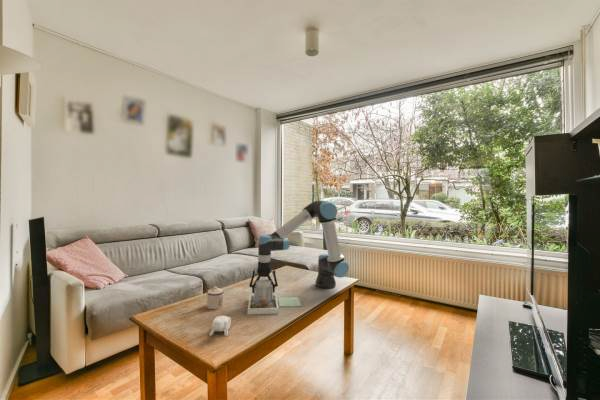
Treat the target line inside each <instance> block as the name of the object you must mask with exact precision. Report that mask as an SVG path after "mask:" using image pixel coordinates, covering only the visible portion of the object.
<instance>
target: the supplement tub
mask: <svg viewBox="0 0 600 400" xmlns="http://www.w3.org/2000/svg"><path fill="white" fill-rule="evenodd" d="M255 287H256V294H255V300H254V301H255V302H254V303H255V305H256V306H257V307H258V301H264V300H267V301H268V303H269V306H270V305H271V304H272V300H271V288H272V285H271V280H270V281H269V279H268V277H260V279H259V280H258V281H256V285H255Z"/></svg>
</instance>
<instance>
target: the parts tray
mask: <svg viewBox="0 0 600 400" xmlns="http://www.w3.org/2000/svg"><path fill="white" fill-rule="evenodd" d="M252 301H255V299H254V294H249V297H248V304H247V305H248V306H247V315H250V316H251V315H275V314H276V315H278V314H279V311H280V309H279V308H280V307H279V301H278V294H273V299H271V301H275V307H268V308H258V307H256V308H255V307H253V308H251V303H252Z"/></svg>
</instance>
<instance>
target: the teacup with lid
mask: <svg viewBox="0 0 600 400" xmlns="http://www.w3.org/2000/svg"><path fill="white" fill-rule="evenodd" d="M206 298H207V301H206V303H207V304H206V308H207V309H209V310H218V309H220V308H222V307H223V302H224V301H223V300H224V290H223V288H219V287H218V286H216V285H215V286H213V287H212V288H211V289H207V291H206Z"/></svg>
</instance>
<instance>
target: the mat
mask: <svg viewBox="0 0 600 400" xmlns="http://www.w3.org/2000/svg"><path fill="white" fill-rule="evenodd" d="M277 300H278V307H279V308H289V307H291V308H292V307H295V308H297V307H302V303H301V301H300V298H299V297H277Z"/></svg>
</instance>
